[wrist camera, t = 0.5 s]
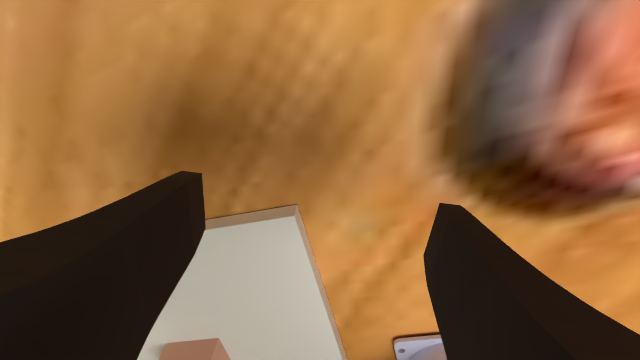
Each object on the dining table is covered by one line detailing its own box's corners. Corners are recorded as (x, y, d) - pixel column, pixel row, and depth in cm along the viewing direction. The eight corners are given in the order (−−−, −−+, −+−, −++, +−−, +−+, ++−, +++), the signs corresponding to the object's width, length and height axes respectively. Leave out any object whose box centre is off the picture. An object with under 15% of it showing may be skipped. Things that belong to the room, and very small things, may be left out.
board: (348, 364, 30) (348, 426, 26) (117, 383, 34) (85, 439, 30) (296, 204, 22) (284, 255, 18) (9, 252, 26) (-54, 302, 22)
